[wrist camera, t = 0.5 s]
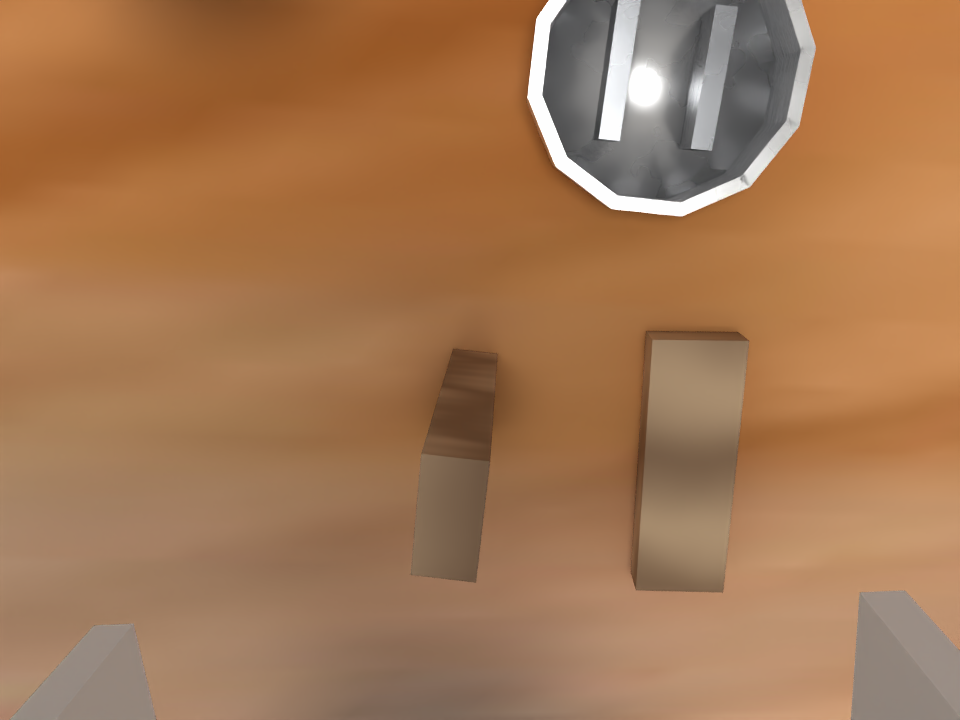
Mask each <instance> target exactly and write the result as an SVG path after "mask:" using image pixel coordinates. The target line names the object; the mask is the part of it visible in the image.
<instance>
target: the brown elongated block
mask: <svg viewBox="0 0 960 720" xmlns="http://www.w3.org/2000/svg"><path fill="white" fill-rule="evenodd" d="M497 356H498V354H496V353H487V352H478V351H469V350H460V349H453V351H452V355H451V358H450V361H449V365H448V368H447V371H446V374H445V378H444V381H443V384H442V388H441V391H440V394H439V397H438V401H437V404H436V407H435V410H434V414H433V417H432V420H431V424H430V427H429V430H428V433H427V437H426V440H425V443H424V447H423V450H422V453H421V463H420V474H419V486H418V497H417V508H416V520H415V531H414V543H413V554H412V565H411V575H415V576H424V577H432V578H441V579H450V580H459V581H467V582H476V578H477V569H478V561H479V552H480V544H481V535H482V526H483V518H484V509H485V500H486V492H487V483H488V475H489V466H490V455H491V440H492V426H493V412H494V398H495V384H496V370H497Z"/></svg>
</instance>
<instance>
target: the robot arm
mask: <svg viewBox="0 0 960 720" xmlns="http://www.w3.org/2000/svg"><path fill="white" fill-rule="evenodd" d="M10 720H156V716H155V712H154V708H153V704H152V699H151V695H150V691H149V687H148V682H147V678H146V674H145V670H144V666H143V661H142V657H141V653H140V649H139V644H138V640H137V636H136V632H135V627H134V624H116V625H94V626H93V627H92V628H91V629H90V630H89V631H88V633H87V634H86V635H85V636H84V637H83V638H82V639H81V640H80V642H79V643H78V644H77V645H76V646H75V647H74V648H73V649H72V651H71V652H70V653H69V654H68V655H67V656H66V657H65V658H64V659H63V661H62V662H61V663H60V664H59V665H58V666H57V667H56V668H55V670H54V671H53V672H52V673H51V674H50V675H49V676H48V677H47V678H46V680H45V681H44V682H43V683H42V684H41V685H40V686H39V687H38V689H37V690H36V691H35V692H34V693H33V694H32V695H31V696H30V697H29V699H28V700H27V701H26V702H25V703H24V704H23V705H22V706H21V708H20V709H19V710H18V711H17V712H16V713H15V714H14V715H13V717H12V718H11V719H10ZM851 720H960V651H959V649H958V648H957V647H956V646H955V645H954V644H953V643H952V642H951V641H950V640H949V638H948V637H947V636H946V635H945V634H944V633H943V632H942V631H941V630H940V629H939V627H938V626H937V625H936V624H935V623H934V622H933V621H932V620H931V619H930V618H929V616H928V615H927V614H926V613H925V612H924V611H923V610H922V609H921V608H920V607H919V605H918V604H917V603H916V602H915V601H914V600H913V599H912V598H911V597H910V596H909V594H908V593H907V592H906V591H883V592H860V596H859V610H858V625H857V639H856V653H855V668H854V682H853V697H852V711H851Z"/></svg>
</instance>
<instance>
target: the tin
mask: <svg viewBox="0 0 960 720" xmlns="http://www.w3.org/2000/svg"><path fill="white" fill-rule="evenodd" d="M815 49H816V47H815V43H814V40H813V37H812V34H811V30H810V27H809V24H808V21H807V17H806V14H805V11H804V8H803V4H802V1H801V0H549V1H548V3H547V4H546V6H545V7H544V9H543V10H542V12H541V13H540V15H539V16H538V17H537V20H536V25H535V32H534V41H533V49H532V58H531V67H530V76H529V84H528V93H527V102H526V103H527V105H528V107H529V110H530V112H531V115H532V117H533V120H534V122H535V125H536V127H537V130H538V133H539V136H540V138H541V140H542V142H543V144H544V147H545V149H546V152H547V154H548V157H549V159H550V161H551V164H552V166H554V167H555V168H556V169H557V170H559V171H560V172H561V173H563V174H564V175H565V176H567V177H568V178H569V179H571V180H572V181H573V182H574V183H576V184H577V185H578V186H580V187H581V188H582V189H584V190H585V191H586V192H588V193H589V194H590V195H592V196H593V197H594V198H595V199H597V200H598V201H599V202H601V203H602V204H603V205H605V206H607V207H609V208H611V209H618V210H627V211H637V212H646V213H655V214H664V215H674V216H684V215H686V214H688V213H691V212H693V211H695V210H698V209H700V208H702V207H705V206H707V205H709V204H712V203H714V202H716V201H718V200H721V199H723V198H725V197H728V196H730V195H732V194H735V193H737V192H739V191H742V190H744V189H746V188H749V187H750V186H751V185H752V184H753V182H754V181H755V180H756V179H757V177H758V176H759V175H760V174H761V172H762V171H763V170H764V169H765V168H766V166H767V165H768V164H769V163H770V161H771V160H772V159H773V158H774V157H775V155H776V154H777V153H778V152H779V150H780V149H781V148H782V147H783V145H784V144H785V143H786V142H787V141H788V139H789V138H790V137H791V136H792V134H793V133H794V132H795V131H796V129H797V128H798V127H799V124H800V120H801V115H802V110H803V106H804V101H805V96H806V92H807V87H808V82H809V77H810V73H811V68H812V63H813V59H814V54H815Z"/></svg>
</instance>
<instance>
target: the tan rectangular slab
mask: <svg viewBox="0 0 960 720" xmlns="http://www.w3.org/2000/svg"><path fill="white" fill-rule="evenodd" d="M748 348H749V340H747V339H746V338H745V337H744V336H742V335H741V334H740V333H738V332H682V331H646V338H645V354H644V370H643V386H642V402H641V417H640V433H639V449H638V465H637V481H636V496H635V512H634V528H633V544H632V560H631V575H632V578H633V582H634V585H635V589H636V590H646V591H685V592H723V589H724V579H725V569H726V560H727V550H728V540H729V531H730V521H731V511H732V502H733V492H734V483H735V473H736V463H737V454H738V444H739V434H740V425H741V415H742V405H743V396H744V386H745V376H746V367H747V357H748Z"/></svg>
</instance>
